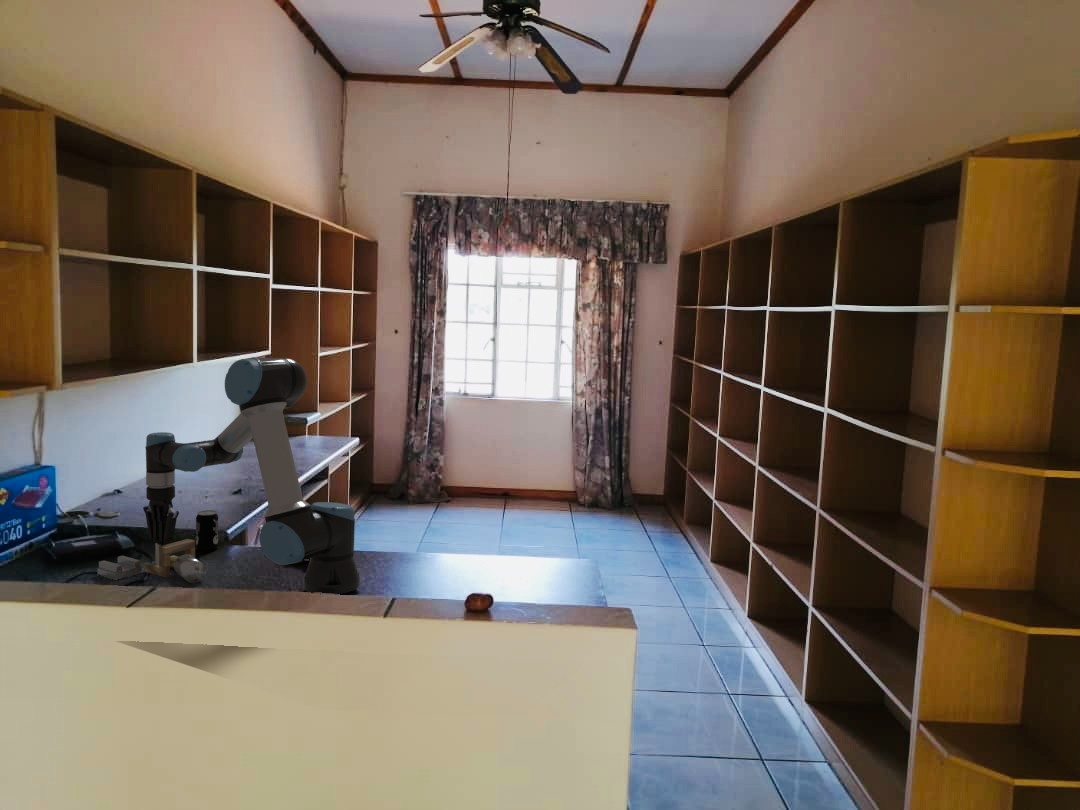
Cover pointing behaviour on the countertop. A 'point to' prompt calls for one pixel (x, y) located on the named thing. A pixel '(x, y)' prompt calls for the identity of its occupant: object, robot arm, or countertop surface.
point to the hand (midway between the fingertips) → (161, 563)
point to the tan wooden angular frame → (164, 557)
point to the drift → (172, 561)
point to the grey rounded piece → (190, 568)
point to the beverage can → (207, 530)
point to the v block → (120, 568)
